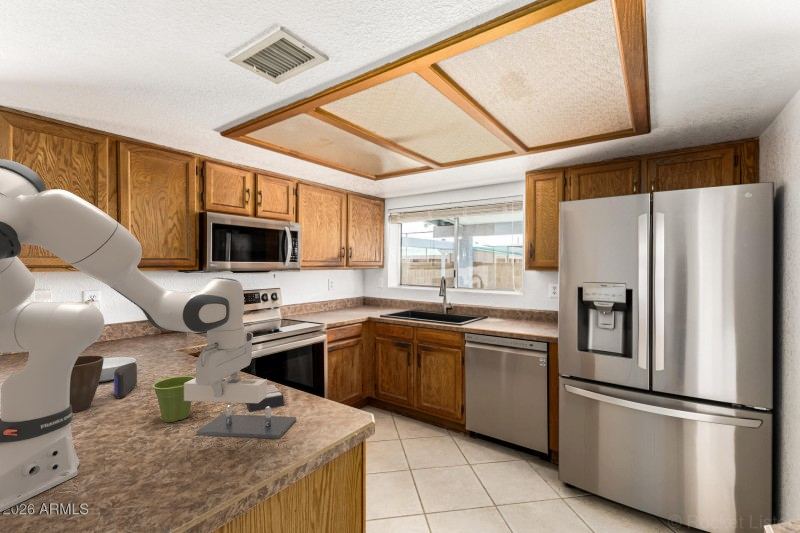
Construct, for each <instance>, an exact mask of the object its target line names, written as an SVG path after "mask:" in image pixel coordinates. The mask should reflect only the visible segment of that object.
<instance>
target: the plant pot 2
mask: <svg viewBox="0 0 800 533" xmlns="http://www.w3.org/2000/svg"><path fill="white" fill-rule="evenodd" d="M194 378H196V376H192V375H181V376H180V375H179V376H174V377H168V378H164V379H162V380H158V381H156V382H155V383H153V384H152V385H151V387H152V389H154V392H155V395H156V397H157V402H158V406H159V410H160V415H161V419H162V421H163V422H165V423H175V422H177V421H182V420H185V419H187V418H188V417H189V416H190V414H191V408H192V407H191V406H192V401H184V383H186V382H188V381H190V380H192V379H194Z"/></svg>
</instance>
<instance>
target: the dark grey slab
mask: <svg viewBox="0 0 800 533" xmlns="http://www.w3.org/2000/svg"><path fill="white" fill-rule="evenodd" d="M137 383H138V365H137V362H136V363H129V364H126V365H123V366H121V367H119V368H117V369H116V370H115V372H114V380H113V386H114V391H113V392H114V396H115V397H116V398H117V399H123V398H124V397H125V396H127V394H129V392H130V391H132V390H133V389H134V388H135V387H136V385H137Z"/></svg>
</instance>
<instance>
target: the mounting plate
mask: <svg viewBox="0 0 800 533" xmlns="http://www.w3.org/2000/svg"><path fill="white" fill-rule="evenodd" d="M264 411H265V412H264V415H257V414H256V415H254V414H233V406H232V404H228V405H226V406H225V413H221V414H220V415H217V417H215V418H214V419H212V420H210V421H209V422H207V423H206V424H205V425H203V426H202V427H200V428H199V429H197V430H196V432H195V433H196V436H211V437H212V436H214V437H215V436H216V437H230V438H231V437H234V438H235V437H236V438H251V439H255V438H256V439H271V440H272V439H273V440H274V439H276V440H279V439H280V438H281V437H282V436H283V435H284V434H285V433H286V432H287V431H288V430H289V429H290V428H291V427H292V426H293V424H294V423H295V422H296V421H297V416H281V415H280V416H279V415H277V416H276V415H272V408H271V407H270V406H267V407H266V408H265V409H264Z"/></svg>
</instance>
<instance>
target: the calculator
mask: <svg viewBox="0 0 800 533" xmlns="http://www.w3.org/2000/svg"><path fill="white" fill-rule="evenodd" d="M284 402H285V400H284V395H283V393H282V392H281V391H280V390H279V388H278V387H276V385H274V384H267V397H266V398H264V399H263V400H262V401H261V402H259V403H245V405H246V407H247V408H246V409H247V410H248V412H249V413H250V412H257V411H262V410H265V408H266V407H267V406H270V407H271V409H274V408H280V407H283V406H284V405H285V404H284Z"/></svg>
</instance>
